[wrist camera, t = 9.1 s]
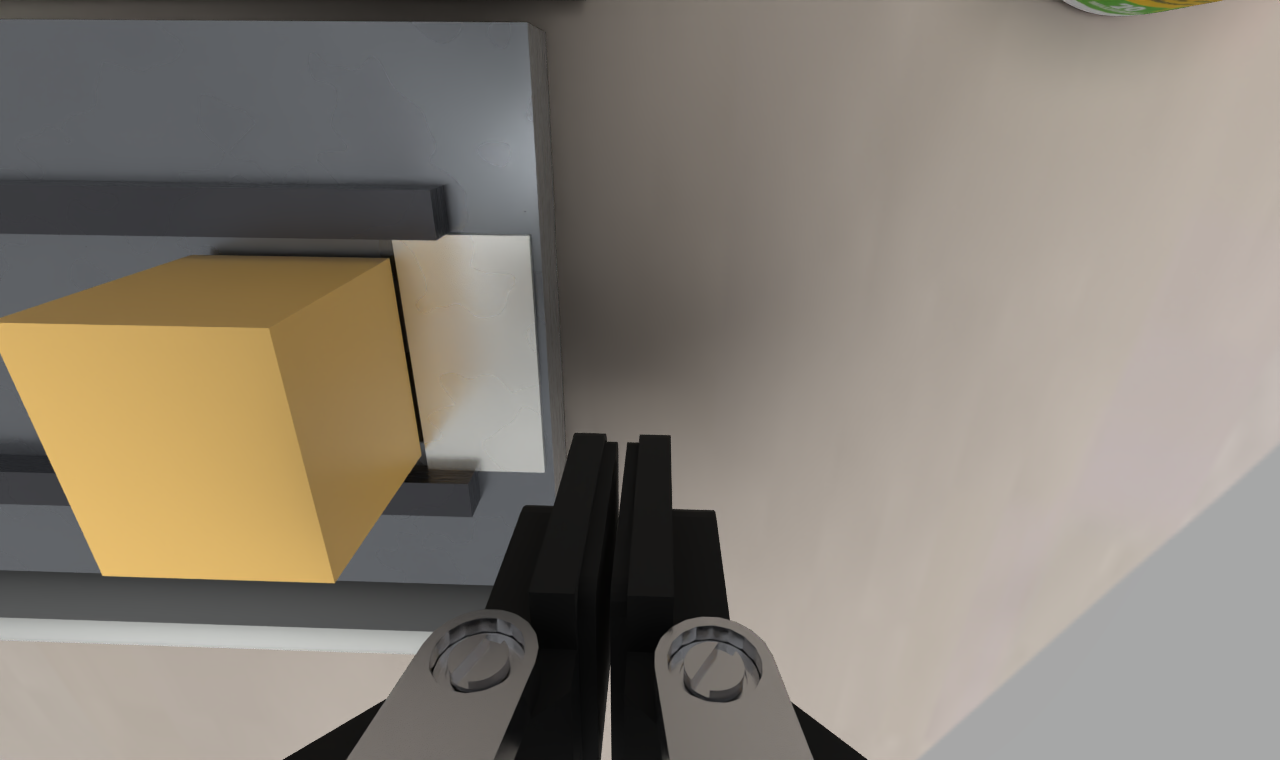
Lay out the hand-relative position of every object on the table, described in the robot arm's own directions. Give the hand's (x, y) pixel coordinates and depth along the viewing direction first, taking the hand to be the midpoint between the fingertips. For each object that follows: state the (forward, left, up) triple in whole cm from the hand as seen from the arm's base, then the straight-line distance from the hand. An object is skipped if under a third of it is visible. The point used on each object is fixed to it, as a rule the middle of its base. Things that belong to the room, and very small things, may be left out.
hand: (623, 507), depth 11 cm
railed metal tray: (+14, -1, -7) cm, 16 cm away
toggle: (+8, -1, -4) cm, 9 cm away
